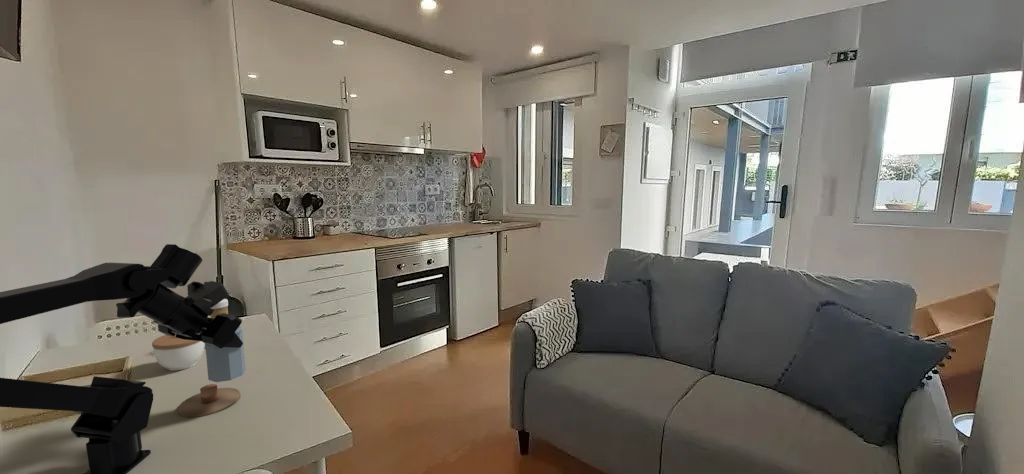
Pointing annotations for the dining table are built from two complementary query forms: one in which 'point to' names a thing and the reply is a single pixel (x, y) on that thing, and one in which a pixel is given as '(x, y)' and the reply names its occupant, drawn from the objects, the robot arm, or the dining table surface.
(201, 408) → the brown pegged disc
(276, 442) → the dining table surface
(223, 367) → the blue dome cap nut
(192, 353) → the lidded jar
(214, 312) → the sprinkles bottle
